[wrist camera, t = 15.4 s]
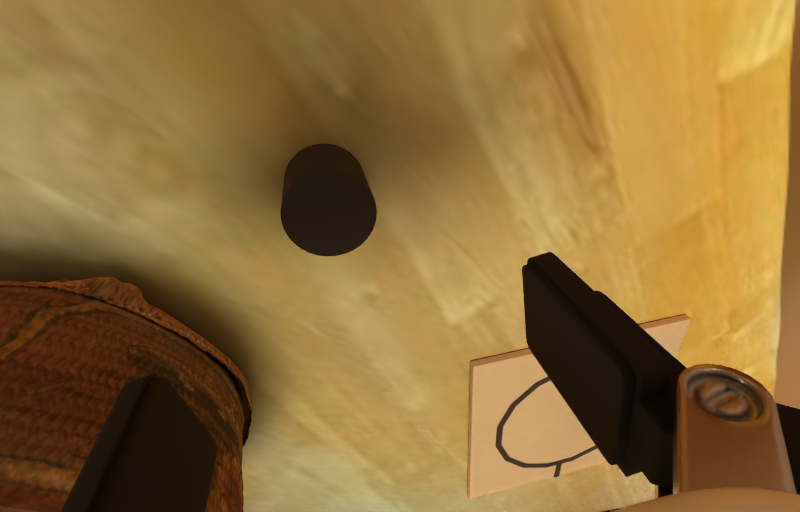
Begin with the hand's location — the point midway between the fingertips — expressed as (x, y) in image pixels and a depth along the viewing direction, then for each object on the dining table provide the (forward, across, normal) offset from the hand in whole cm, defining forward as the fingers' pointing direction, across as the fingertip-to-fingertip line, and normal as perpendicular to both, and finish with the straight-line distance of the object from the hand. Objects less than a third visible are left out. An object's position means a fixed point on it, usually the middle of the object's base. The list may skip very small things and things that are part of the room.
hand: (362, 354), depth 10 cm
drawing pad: (+12, -13, +26) cm, 31 cm away
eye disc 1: (+12, 0, 0) cm, 12 cm away
